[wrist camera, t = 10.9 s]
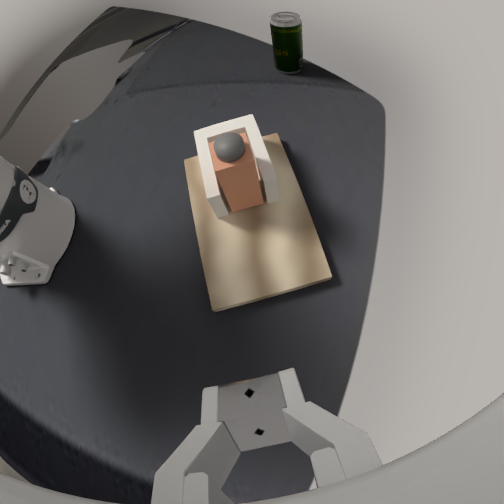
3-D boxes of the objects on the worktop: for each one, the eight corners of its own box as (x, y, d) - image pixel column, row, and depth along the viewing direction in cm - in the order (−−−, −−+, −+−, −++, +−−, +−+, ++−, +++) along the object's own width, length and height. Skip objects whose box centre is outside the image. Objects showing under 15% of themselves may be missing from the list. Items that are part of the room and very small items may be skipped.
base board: (215, 312, 34) (212, 310, 32) (187, 165, 41) (184, 160, 40) (330, 279, 33) (332, 276, 32) (277, 139, 41) (277, 133, 40)
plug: (232, 212, 36) (212, 164, 26) (226, 186, 37) (205, 135, 28) (263, 203, 36) (253, 152, 26) (255, 178, 37) (243, 124, 28)
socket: (217, 218, 36) (206, 198, 31) (203, 153, 40) (193, 131, 35) (279, 200, 36) (277, 178, 31) (257, 138, 40) (252, 114, 35)
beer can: (304, 62, 47) (302, 12, 36) (301, 76, 46) (299, 23, 34) (277, 60, 48) (272, 10, 37) (272, 74, 47) (266, 21, 35)
